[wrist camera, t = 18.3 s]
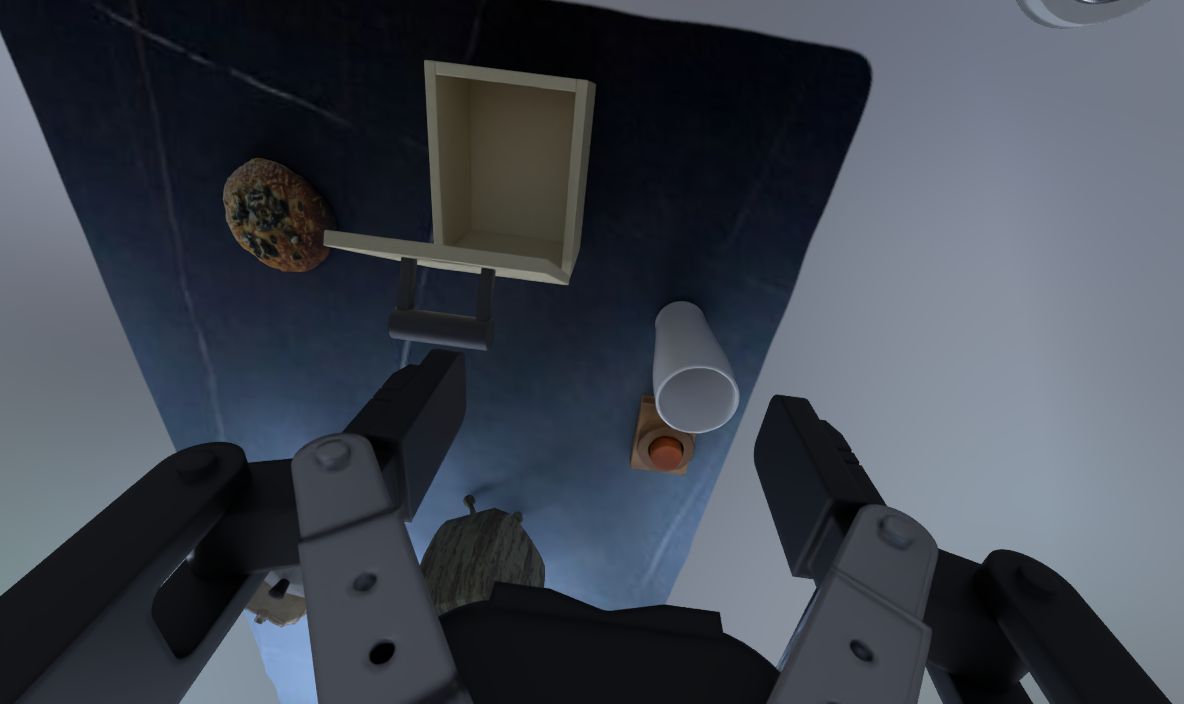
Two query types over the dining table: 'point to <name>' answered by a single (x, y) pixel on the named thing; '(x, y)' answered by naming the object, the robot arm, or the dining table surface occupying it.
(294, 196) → the bread roll
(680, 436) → the block
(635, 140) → the dining table surface
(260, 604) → the ceramic model
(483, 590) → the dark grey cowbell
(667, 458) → the button
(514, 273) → the lid
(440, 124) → the beige open box
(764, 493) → the robot arm
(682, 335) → the drinking glass
